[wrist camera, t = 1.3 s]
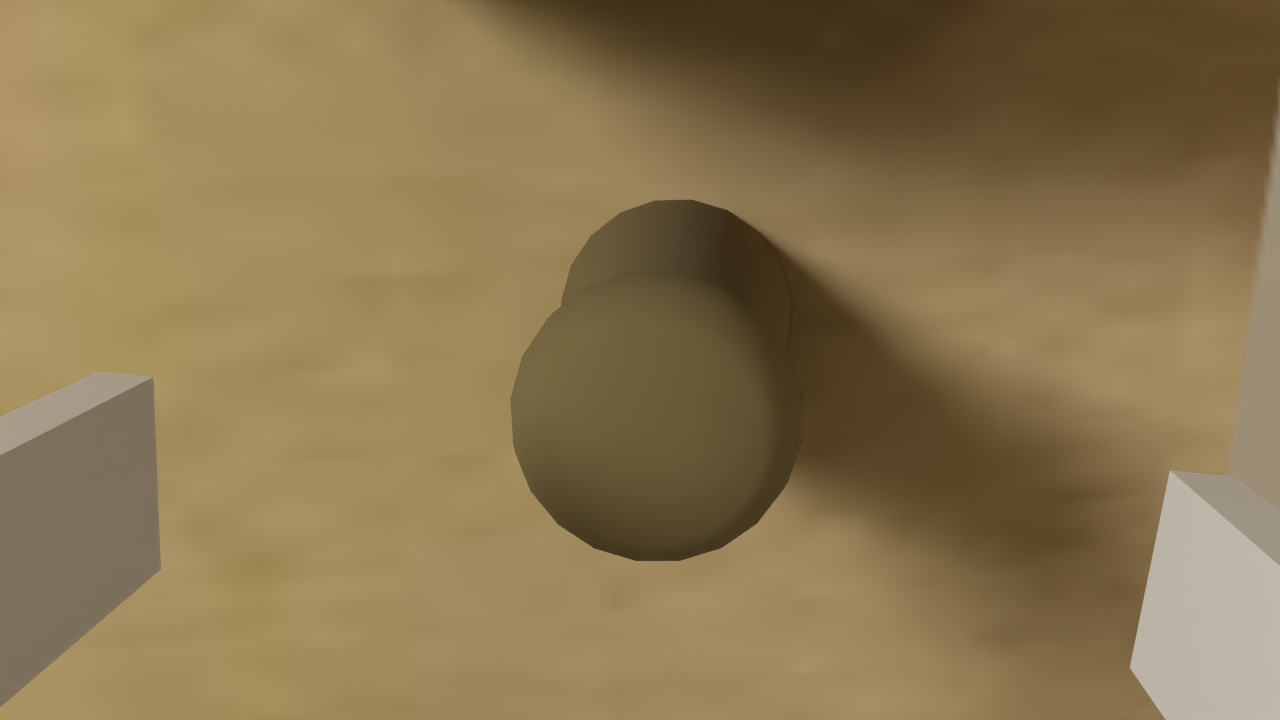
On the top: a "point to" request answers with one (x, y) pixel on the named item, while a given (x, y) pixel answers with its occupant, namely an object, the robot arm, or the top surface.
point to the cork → (662, 386)
